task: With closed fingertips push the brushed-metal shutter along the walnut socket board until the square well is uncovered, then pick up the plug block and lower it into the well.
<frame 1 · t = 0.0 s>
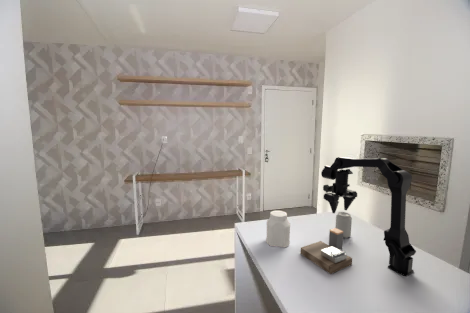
hand: (339, 211, 110), 15 cm above the table, fingers open, 9 cm apart
socket board: (325, 259, 93), on the table
plug: (335, 248, 103), on the table
shutter: (333, 253, 89), point 5 cm above the table, slide at 0.0 cm
can: (342, 235, 116), on the table
jar: (277, 242, 108), on the table
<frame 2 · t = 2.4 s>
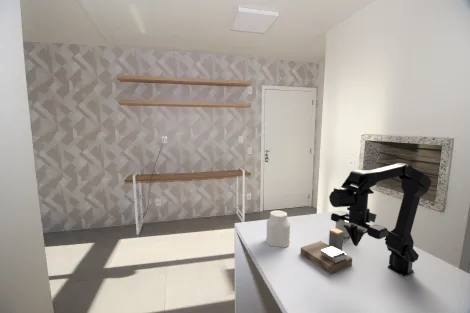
hand: (355, 245, 81), 13 cm above the table, fingers closed
nothing on the table moved.
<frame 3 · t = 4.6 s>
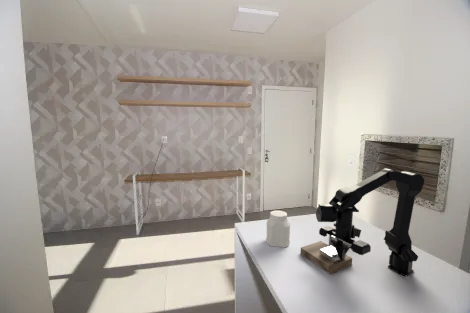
hand: (341, 259, 86), 4 cm above the table, fingers closed
shutter: (332, 252, 90), point 5 cm above the table, slide at 0.5 cm, touching gripper
everything else where it was.
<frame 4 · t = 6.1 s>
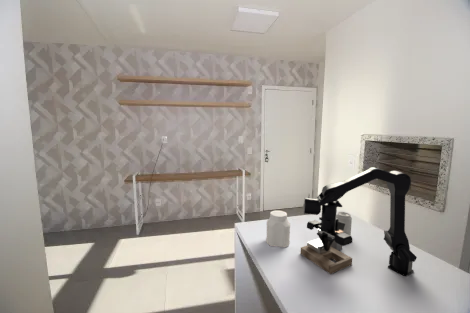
hand: (326, 250, 92), 4 cm above the table, fingers closed
shutter: (318, 245, 96), point 5 cm above the table, slide at 7.6 cm, touching gripper
everything else where it was.
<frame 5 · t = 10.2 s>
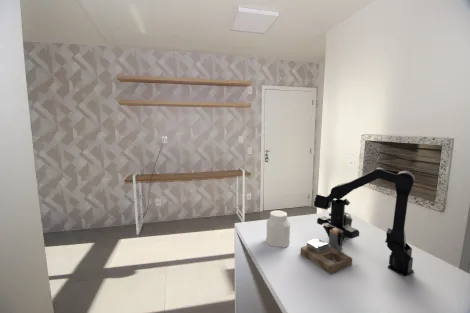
hand: (335, 243, 102), 2 cm above the table, fingers closed on plug, 4 cm apart
plug: (335, 248, 103), on the table, touching gripper
shutter: (318, 244, 96), point 5 cm above the table, slide at 7.8 cm
everything else where it was.
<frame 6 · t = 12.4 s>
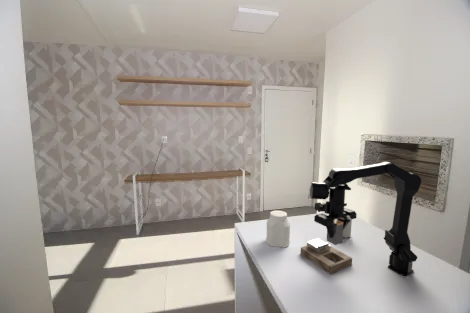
hand: (334, 236, 89), 12 cm above the table, fingers closed on plug, 4 cm apart
plug: (334, 241, 89), point 10 cm above the table, touching gripper
everything else where it was.
when the fingers open (4 cm above the table, at t = 14.5 s): plug drops 2 cm, resting in socket board.
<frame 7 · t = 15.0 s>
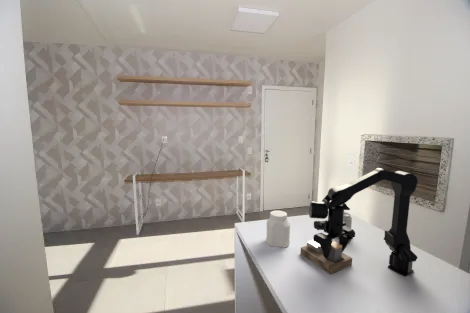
hand: (333, 255, 90), 4 cm above the table, fingers open, 9 cm apart
plug: (333, 264, 90), resting in socket board
everything else where it was.
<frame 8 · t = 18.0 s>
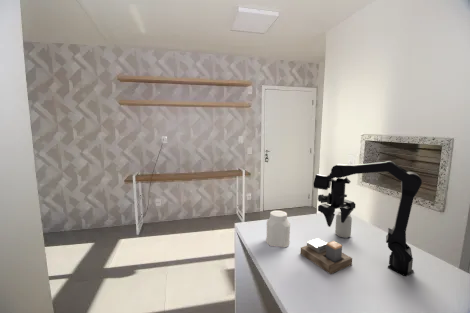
hand: (335, 224, 99), 12 cm above the table, fingers open, 9 cm apart
nothing on the table moved.
at the end: plug 0.1 cm from the target spot on the socket board, point 0.0 cm above the socket board's base; plug tilted 0°; shutter slide at 7.8 cm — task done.
